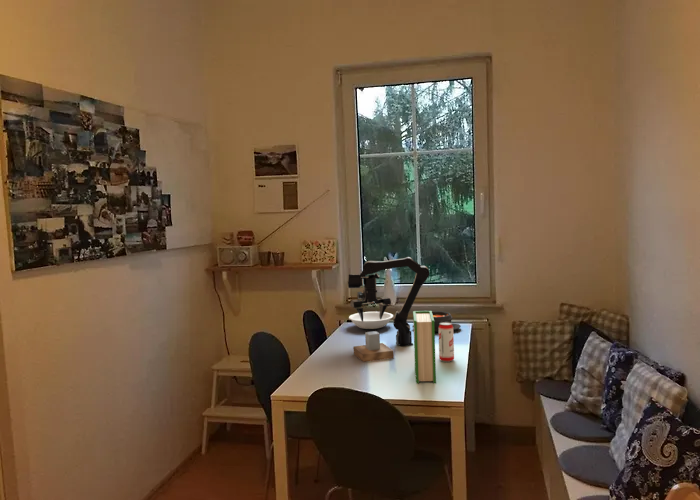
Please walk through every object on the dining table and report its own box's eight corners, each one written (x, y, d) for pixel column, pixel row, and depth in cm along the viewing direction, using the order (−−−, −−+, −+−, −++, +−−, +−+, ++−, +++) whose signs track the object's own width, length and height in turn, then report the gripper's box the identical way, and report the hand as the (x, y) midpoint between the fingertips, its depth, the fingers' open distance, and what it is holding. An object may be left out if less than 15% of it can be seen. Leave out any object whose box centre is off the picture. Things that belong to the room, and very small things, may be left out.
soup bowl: (365, 321, 322) (365, 310, 322) (402, 325, 308) (401, 313, 308) (340, 330, 303) (339, 318, 302) (378, 335, 289) (377, 322, 288)
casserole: (462, 326, 301) (461, 310, 301) (459, 334, 284) (458, 318, 283) (415, 325, 308) (415, 310, 307) (409, 333, 290) (409, 317, 290)
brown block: (382, 351, 261) (382, 342, 261) (393, 359, 248) (393, 350, 248) (353, 355, 257) (353, 346, 257) (363, 363, 244) (363, 354, 244)
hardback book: (436, 383, 213) (434, 320, 211) (416, 383, 214) (414, 320, 211) (433, 368, 230) (431, 310, 228) (414, 369, 231) (413, 311, 229)
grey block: (376, 346, 255) (375, 331, 255) (380, 349, 251) (379, 333, 250) (365, 347, 254) (365, 332, 253) (369, 350, 249) (368, 334, 249)
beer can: (455, 358, 243) (454, 322, 242) (453, 362, 237) (452, 325, 236) (440, 357, 245) (439, 321, 244) (438, 362, 239) (437, 324, 238)
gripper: (382, 283, 279) (383, 314, 281) (346, 287, 274) (347, 318, 275) (390, 286, 269) (392, 319, 270) (353, 290, 263) (354, 323, 265)
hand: (371, 320), depth 270 cm, fingers open, 9 cm apart
